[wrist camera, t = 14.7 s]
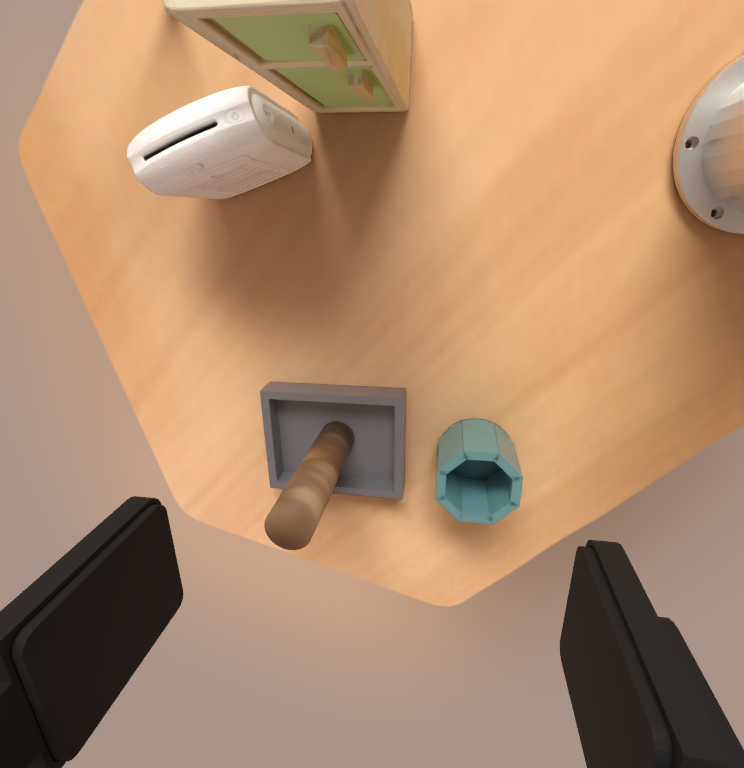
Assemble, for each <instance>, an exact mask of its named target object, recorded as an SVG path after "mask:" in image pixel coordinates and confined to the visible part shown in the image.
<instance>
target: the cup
mask: <svg viewBox="0 0 744 768" xmlns="http://www.w3.org/2000/svg"><path fill="white" fill-rule="evenodd" d="M437 453H438V464H437V484H436V500H437V501H438V502H439V503H440V504H441V505H442V506H443V507H444V508H445V509H446V510H447V511H448V512H449V513H450V514H451V515H452V516H454V517H455V518H456V519H457V520H458V521H461V522H472V523H483V524H494V523H495V522H497V521H498V520H500V519H501V518H503V517H504V516H506V515H507V514H509V513H510V512H512V511H514V510H515V509H517V508H518V507H519V505H520V497H521V489H522V480H523V476H522V472H521V469H520V465H519V461H518V457H517V453H516V450H515V446H514V443H513V442H512V441H511V440H510V438H509V436H508V434H507V433H506V432H505V431H504V430H503V429H502V428H501V427H500V426H498V425H497V424H495V423H493V422H490V421H488V420H483V419H466V420H462V421H460V422H457V423H455V424H453V425H452V426H450V427H449V428H448V429H447V430H446V431H445V432H444V433H443V435H442V437H441V438H439V444H438V451H437Z"/></svg>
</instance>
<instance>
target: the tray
mask: <svg viewBox="0 0 744 768" xmlns="http://www.w3.org/2000/svg"><path fill="white" fill-rule="evenodd" d="M260 395H261V405H262V414H263V423H264V433H265V442H266V451H267V461H268V470H269V480H270V488H280V489H285V487H286V486H287V484H288V482H289V481H290V479H291V478H292V476H293V474H294V473H295V471H296V470H297V468H298V467H299V465H300V463H301V462H302V460H303V459H304V457H305V455H306V454H307V452H308V451H309V449H310V447H311V446H312V444H313V443H314V441H315V440H316V438H317V436H318V435H319V433H320V432H321V430H322V428H323V427H324V426H325V425H326V424H327V423H329V422H333V421H339V422H342V423H345V424H346V425H348V426H349V427H350V428H351V429H352V431H353V433H354V436H355V441H354V444H353V447H352V449H351V451H350V453H349V456H348V458H347V460H346V462H345V464H344V467H343V469H342V471H341V473H340V476H339V478H338V480H337V482H336V485H335V487H334V489H333V491H332V493H337V494H349V495H360V496H372V497H383V498H394V499H402V497H403V491H404V486H405V429H406V388H388V387H367V386H346V385H326V384H305V383H284V382H269V383H268V384H267V385H266V386H265V387H264V388H263V389H262V390H261V391H260Z"/></svg>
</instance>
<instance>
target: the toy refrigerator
mask: <svg viewBox="0 0 744 768" xmlns="http://www.w3.org/2000/svg"><path fill="white" fill-rule="evenodd" d="M163 3H164V7H165V9H166V11H167V12H168V13H169V14H170V15H171V16H173V17H174V18H175V19H177V20H178V21H180V22H181V23H183V24H184V25H186V26H187V27H189V28H190V29H192V30H193V31H195V32H196V33H198V34H199V35H201V36H202V37H204V38H205V39H206V40H208V41H209V42H211V43H212V44H214V45H215V46H217V47H218V48H220V49H221V50H223V51H224V52H226V53H227V54H229V55H230V56H232V57H233V58H235V59H236V60H238V61H239V62H241V63H242V64H244V65H246V66H247V67H249V68H250V69H252V70H253V71H255V72H256V73H257V74H259V75H260V76H262V77H263V78H265V79H266V80H268V81H269V82H271V83H272V84H274V85H275V86H276V87H278V88H279V89H281V90H282V91H284V92H285V93H287V94H288V95H290V96H291V97H292V98H294V99H295V100H297V101H299V102H300V103H301V104H303V105H304V106H306V107H307V108H309V109H310V110H312V111H314V112H316V113H340V112H403V111H408V109H409V94H410V69H411V43H412V15H413V12H412V7H411V2H410V0H163Z"/></svg>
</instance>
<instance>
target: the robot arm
mask: <svg viewBox="0 0 744 768" xmlns="http://www.w3.org/2000/svg"><path fill="white" fill-rule="evenodd" d="M686 141H688V142H689V143H690V145H689V147H688V148H686V147H685V143H686ZM673 174H674V181H675V185H676V188H677V190H678V193H679V196H680V198H681V200H682V201H683V203H684V204H685V206H686V207H687V209H688V210H689V211H690V212H691V213H692V214H693V215H694V216H695V217H696V218H698V219H699V220H700V221H701V222H703V223H705V224H707V225H709V226H710V227H712V228H715V229H718V230H722V231H725V232H728V233H737V234H744V54H743V55H742V56H740V57H738V58H737V59H735V60H734V61H732V62H731V63H729V64H728V65H727V66H725V67H724V68H723V69H722V70H721V71H720V72H719V73H717V74H716V75H715V76H714V77H713V78H712V79H711V80H710V81H709V82H708V83H707V84H706V86H705V87H704V88H703V89H702V90H701V92H700V93H699V94H698V95H697V96H696V98H695V100H694V101H693V103H692V104H691V106H690V108H689V109H688V111H687V112H686V114H685V117H684V119H683V121H682V124H681V126H680V128H679V131H678V134H677V138H676V142H675V146H674V152H673ZM712 210H714V215H713V216H712V217H711V212H712ZM182 599H183V588H182V583H181V578H180V574H179V569H178V564H177V559H176V554H175V549H174V544H173V539H172V535H171V530H170V525H169V520H168V515H167V510H166V508H165V507H164V506H162V505H161V502H160V501H159V500H158V499H156V498H146V497H136V496H134V497H131V498H129V499H128V500H127V501H125V502H124V503H123V504H122V505H121V506H120V507H119V508H117V510H115V511H114V512H113V513H112V514H111V515H109V516H108V517H107V518H106V519H105V520H104V521H103V522H102V523H100V524H99V525H98V526H97V527H96V528H95V529H94V530H92V531H91V532H90V533H89V534H88V535H87V536H86V537H84V538H83V539H82V540H81V541H80V542H79V543H78V544H77V545H75V546H74V547H73V548H72V549H71V550H70V551H69V552H68V553H66V554H65V555H64V556H63V557H62V558H61V559H59V560H58V561H57V562H56V563H55V564H54V565H53V566H52V567H50V568H49V569H48V570H47V571H46V572H45V573H44V574H43V575H41V576H40V577H39V578H38V579H37V580H36V581H34V582H33V583H32V584H31V585H30V586H29V587H28V588H27V589H25V590H24V591H23V592H22V593H21V594H20V595H19V596H17V597H16V598H15V599H14V600H13V601H12V602H11V603H10V604H8V605H7V606H6V607H5V608H4V609H3V610H2V611H0V768H62V766H63V765H64V764H65V762H66V761H70V760H72V759H73V758H74V757H75V756H76V755H77V754H78V752H79V751H80V750H81V748H82V747H83V746H84V744H85V743H86V741H87V740H88V738H89V737H90V736H91V734H92V733H93V731H94V730H95V728H96V727H97V726H98V724H99V723H100V721H101V720H102V718H103V717H104V715H105V714H106V713H107V711H108V710H109V708H110V707H111V705H112V704H113V702H114V701H115V699H116V698H117V697H118V695H119V694H120V692H121V691H122V689H123V688H124V687H125V685H126V684H127V682H128V681H129V679H130V678H131V676H132V675H133V673H134V672H135V671H136V669H137V668H138V666H139V665H140V664H141V662H142V661H143V659H144V658H145V656H146V655H147V653H148V652H149V650H150V649H151V648H152V646H153V645H154V643H155V642H156V640H157V639H158V637H159V636H160V635H161V633H162V632H163V630H164V629H165V627H166V626H167V625H168V623H169V622H170V620H171V619H172V617H173V616H174V615H175V613H176V611H177V610H178V609H179V607H180V605H181V602H182ZM560 656H561V661H562V666H563V670H564V674H565V678H566V682H567V686H568V691H569V695H570V699H571V703H572V707H573V711H574V715H575V719H576V723H577V728H578V732H579V736H580V740H581V744H582V748H583V752H584V757H585V761H586V765H587V768H744V750H743V748H742V746H741V744H740V742H739V740H738V739H737V737H736V735H735V733H734V731H733V729H732V727H731V726H730V724H729V722H728V720H727V718H726V716H725V715H724V713H723V711H722V709H721V707H720V705H719V703H718V702H717V700H716V698H715V697H714V694H713V692H712V690H711V689H710V687H709V685H708V683H707V681H706V679H705V678H704V676H703V674H702V672H701V670H700V668H699V667H698V665H697V663H696V661H695V659H694V657H693V655H692V654H691V652H690V650H689V648H688V646H687V644H686V642H685V641H684V639H683V637H682V635H681V633H680V632H679V630H678V628H677V627H676V625H675V624H674V622H672V621H671V620H670V619H669V618H663V617H658V616H657V614H656V612H655V610H654V608H653V606H652V604H651V602H650V600H649V598H648V596H647V594H646V592H645V590H644V588H643V586H642V584H641V583H640V580H639V578H638V576H637V575H636V573H635V571H634V569H633V567H632V565H631V563H630V561H629V559H628V557H627V555H626V553H625V551H624V549H623V547H622V546H621V544H619V543H616V542H607V541H596V540H589V541H588V542H587V544H586V547H583V546H579V547H578V548H577V551H576V556H575V562H574V567H573V573H572V578H571V584H570V590H569V595H568V600H567V606H566V611H565V617H564V623H563V628H562V633H561V639H560Z"/></svg>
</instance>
